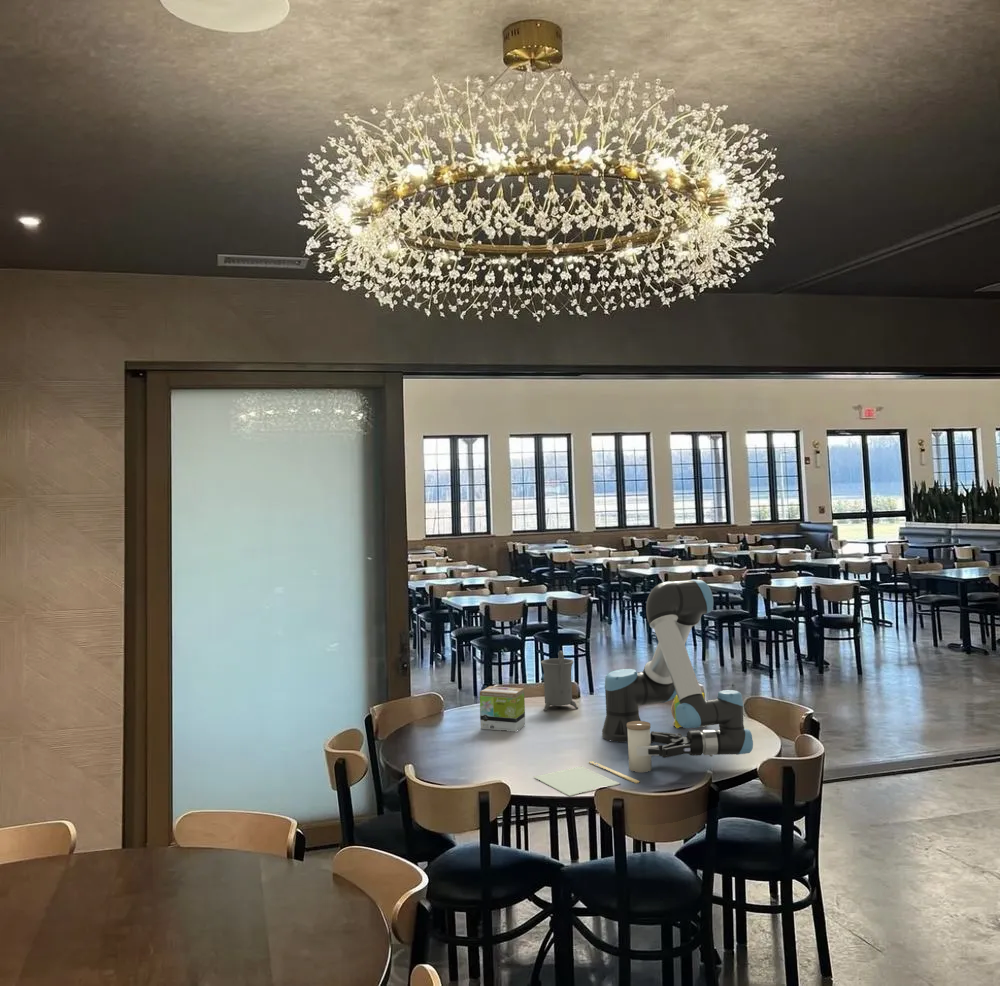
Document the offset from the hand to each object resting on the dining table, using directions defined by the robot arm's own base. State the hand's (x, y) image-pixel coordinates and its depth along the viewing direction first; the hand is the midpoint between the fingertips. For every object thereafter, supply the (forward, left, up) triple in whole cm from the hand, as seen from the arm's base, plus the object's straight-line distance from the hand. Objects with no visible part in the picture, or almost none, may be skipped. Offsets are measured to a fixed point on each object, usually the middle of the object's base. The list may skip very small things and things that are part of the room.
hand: (633, 744), depth 250 cm
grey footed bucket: (-81, +25, -8) cm, 85 cm away
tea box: (-68, -9, -8) cm, 69 cm away
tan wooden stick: (-1, -7, -8) cm, 11 cm away
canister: (+1, +2, -8) cm, 8 cm away
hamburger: (-29, +49, -8) cm, 58 cm away
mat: (-1, -21, -8) cm, 23 cm away
